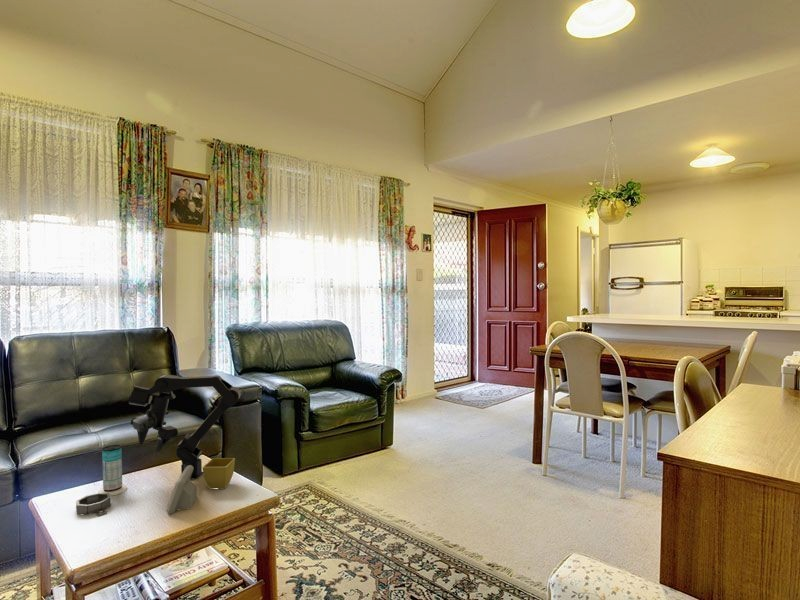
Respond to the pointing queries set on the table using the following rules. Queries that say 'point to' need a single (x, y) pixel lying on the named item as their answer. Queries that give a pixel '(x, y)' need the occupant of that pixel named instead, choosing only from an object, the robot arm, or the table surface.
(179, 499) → the digital clock
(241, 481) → the table surface
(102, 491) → the dome ceiling light
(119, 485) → the beverage can
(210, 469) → the flower pot
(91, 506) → the eye ring
